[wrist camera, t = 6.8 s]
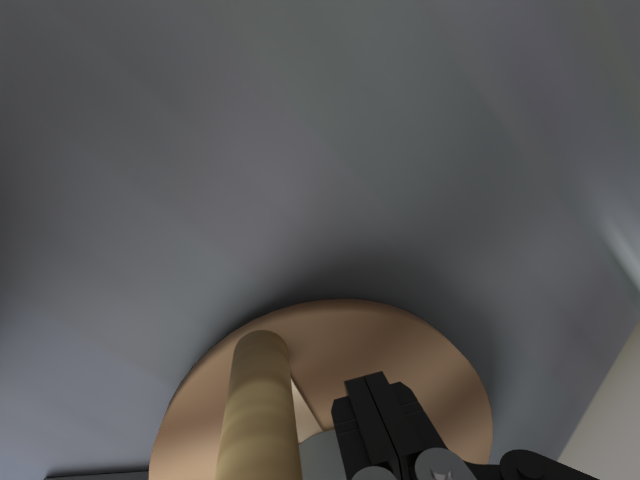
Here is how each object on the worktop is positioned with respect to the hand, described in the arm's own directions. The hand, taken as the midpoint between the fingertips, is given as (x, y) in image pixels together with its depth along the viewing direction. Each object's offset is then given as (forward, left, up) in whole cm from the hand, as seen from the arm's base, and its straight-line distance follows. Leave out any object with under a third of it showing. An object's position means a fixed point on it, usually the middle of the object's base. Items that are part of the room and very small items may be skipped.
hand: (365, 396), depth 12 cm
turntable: (+7, 0, -5) cm, 9 cm away
